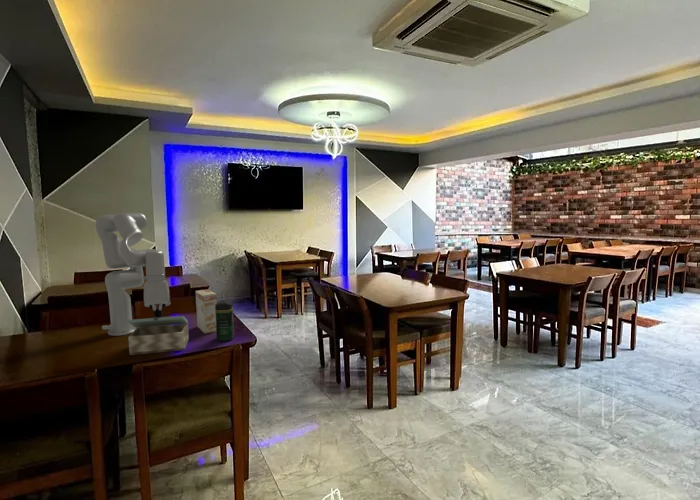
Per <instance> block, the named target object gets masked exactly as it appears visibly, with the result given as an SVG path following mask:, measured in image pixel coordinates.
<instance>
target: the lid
mask: <svg viewBox="0 0 700 500" xmlns="http://www.w3.org/2000/svg"><path fill="white" fill-rule="evenodd" d="M128 323H130V324H131V325H133V327H136V328H140V327H152V326H165V325H177V324H189V320H188V319H187V318H186V317H185V316H184V315H175V316H162V317H160V318H157V317H155V316H154V317H149V318H137V319H136V318H135V319H132V320H128Z"/></svg>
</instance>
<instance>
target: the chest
mask: <svg viewBox="0 0 700 500" xmlns="http://www.w3.org/2000/svg"><path fill="white" fill-rule="evenodd" d="M189 341H190V337H189V323H187V324H174V325H162V326H150V327H138V328H137V327H136V329H135V331H134V332H133V333H130V334H129V336H128V351H129V355H130V356H135V355H146V354H157V353H167V352H176V351H185V349H186V347H187V345H188V343H189Z"/></svg>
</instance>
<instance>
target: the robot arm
mask: <svg viewBox="0 0 700 500" xmlns="http://www.w3.org/2000/svg"><path fill="white" fill-rule="evenodd" d="M147 226H148V219H147V216H146V215H145V214H143V213H142V212H140V211H139V212H134V211H133V212H120V213H116V214H104V215H99V216H98V217H97V218H96V219H95V230H96V233H97V235H98V238H99V239H100V241H101V244H102V250H103V251H102V252H103V257H104V263H105V265H106V267H107V268H108V269H113V270H115V269H123V270H117V271H116V270H115V271H111V272H109V273H107V274H106V275H105V277H104V283H105V287H106V291H107V294H108V295H107V296H108V304H109V307H108V308H109V317H110V319H109V320H110V324H109V325H102V327H101V330H102V331H107V334H108V335H109V336H112V337H113V336H114V337H117V336H126V335H131V334H132V333H133V332H134V331H135V329H136V328H137V327H135V326H133V325H131V324H130V323H128V320H133V315H132V314H133V313H132V303H131V302H132V300H131V299H132V298H131V296H130V294H129V293H128V292H127V291H125V290H127V289H132V288H133V289H134V288H138V287H141V286H142V285H143V284H144V285H143V303H144V307H146V308H150V309H151V310H152V311H153V314H154V317H157V318H160V317H163V309H164V308H165V307H168V306H170V305H171V294H170V287H169V283H168V280H166V267H165V254H164V252H163V251H162V250H157V249H155V248H147V249H135V248H130V247H132V246H135V245H136V244H138V243H140V242H141V240H142V239H143V235H144V234H143V232H142V230H144V229H146V228H147ZM115 232H118V233H119V235H120V237H121V238H120V237H119V235H117V234H116V233H115ZM143 267H145V275H144V270H143ZM125 268H129V269H125ZM124 269H125V270H124Z"/></svg>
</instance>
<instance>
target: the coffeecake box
mask: <svg viewBox="0 0 700 500" xmlns="http://www.w3.org/2000/svg"><path fill="white" fill-rule="evenodd" d="M216 303H217V293H215V292H214V291H211V290H210V289H200V290H195V306H196V307H195V308H196V323H197V325H196V326H197V328H199V329H200V331H201V332H203V333H204V334H209V333H216V313H215V305H216Z"/></svg>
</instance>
